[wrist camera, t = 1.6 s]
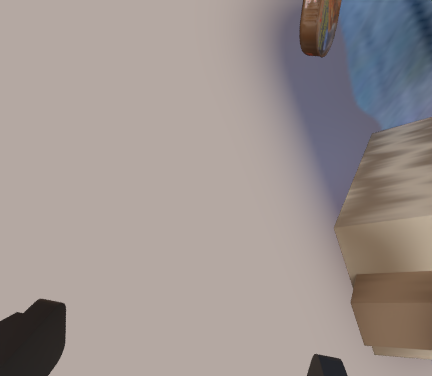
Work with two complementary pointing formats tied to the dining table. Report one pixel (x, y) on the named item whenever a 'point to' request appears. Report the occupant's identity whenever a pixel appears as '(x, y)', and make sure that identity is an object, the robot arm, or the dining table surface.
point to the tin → (318, 26)
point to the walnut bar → (394, 309)
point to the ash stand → (390, 210)
